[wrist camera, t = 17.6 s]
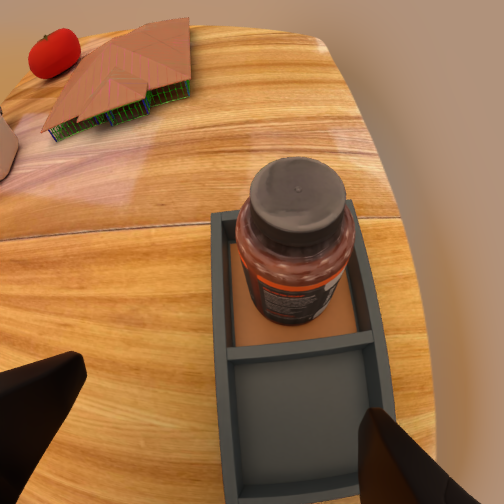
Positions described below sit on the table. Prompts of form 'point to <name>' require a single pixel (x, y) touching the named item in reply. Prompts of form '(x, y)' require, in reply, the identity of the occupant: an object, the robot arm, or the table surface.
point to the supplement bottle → (294, 239)
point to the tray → (294, 382)
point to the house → (125, 74)
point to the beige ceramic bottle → (6, 147)
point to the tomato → (54, 54)
